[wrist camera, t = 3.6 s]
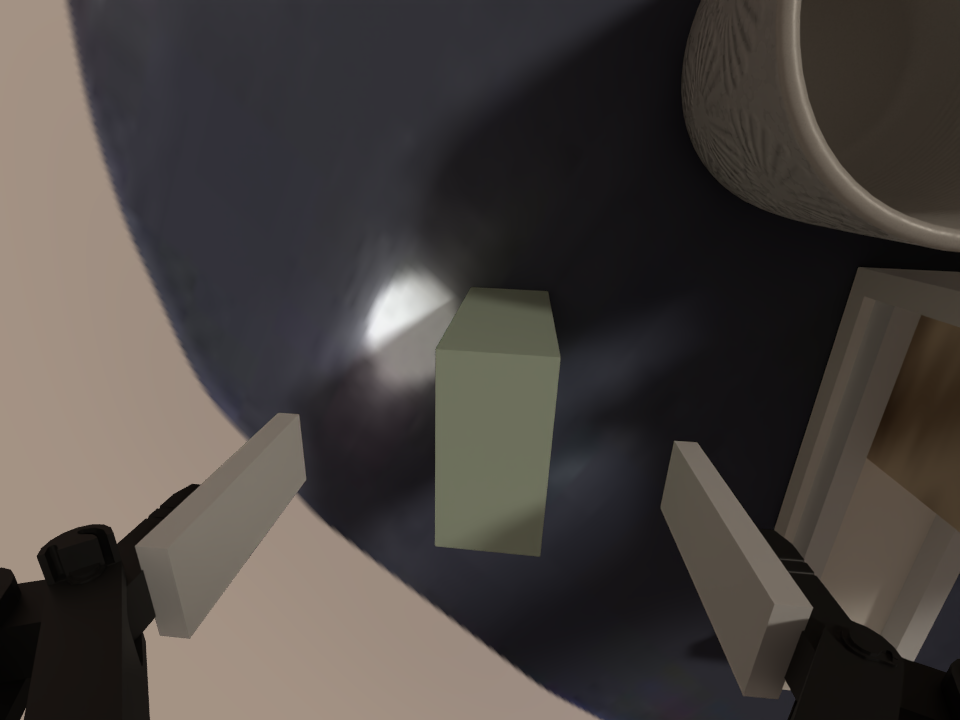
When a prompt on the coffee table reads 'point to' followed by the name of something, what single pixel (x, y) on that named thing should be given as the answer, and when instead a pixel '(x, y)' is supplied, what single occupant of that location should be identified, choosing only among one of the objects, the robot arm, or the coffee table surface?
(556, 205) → the coffee table surface
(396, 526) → the coffee table surface
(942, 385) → the oak panel
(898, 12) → the planter
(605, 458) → the coffee table surface
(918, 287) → the track
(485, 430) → the green panel
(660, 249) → the coffee table surface
